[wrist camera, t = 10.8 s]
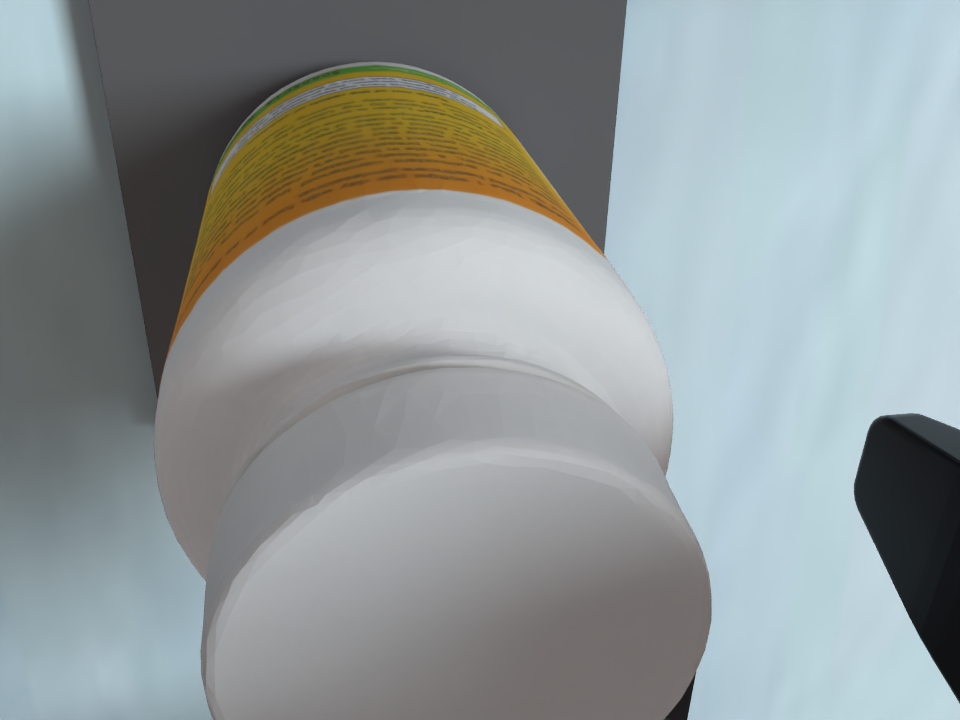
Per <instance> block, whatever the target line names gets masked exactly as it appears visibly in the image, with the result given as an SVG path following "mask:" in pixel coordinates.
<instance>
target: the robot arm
mask: <svg viewBox="0 0 960 720" xmlns="http://www.w3.org/2000/svg"><path fill="white" fill-rule="evenodd" d="M854 497H855V502H856V505H857V508H858V511H859V513H860V515H861V517H862V519H863V521H864V523H865V525H866V527H867V529H868V531H869V534H870V536H871V538H872V540H873V542H874V544H875V546H876V548H877V550H878V552H879V554H880V557H881V559H882V561H883V563H884V565H885V567H886V569H887V571H888V573H889V575H890V577H891V580H892V582H893V584H894V586H895V588H896V590H897V592H898V594H899V596H900V598H901V600H902V602H903V605H904V607H905V609H906V611H907V613H908V615H909V617H910V619H911V621H912V623H913V625H914V627H915V629H916V630H917V632H918V634H919V636H920V638H921V640H922V642H923V643H924V645H925V647H926V648H927V650H928V652H929V654H930V655H931V657H932V659H933V660H934V662H935V664H936V665H937V667H938V669H939V670H940V672H941V674H942V675H943V677H944V678H945V680H946V682H947V683H948V685H949V687H950V688H951V690H952V691H953V693H954V695H955V696H956V698H957V700H958V701H959V703H960V430H959V429H956V428H954V427H951V426H949V425H946V424H944V423H941V422H939V421H936V420H934V419H931V418H929V417H926V416H924V415H920V414H914V413H910V414H897V415H885V416H880V417H878V418H877V419H875V420H874V421H873V423H872V424H871V425H870V428H869V430H868V434H867V437H866V441H865V445H864V449H863V452H862V456H861V460H860V463H859V467H858V471H857V475H856V478H855V483H854ZM695 674H696V672H695ZM694 680H695V675H694V677H693V679H692V681H691V683H690V684H689V686H688V688H687V690H686V691H685V693H684V695H683V696H682V698H681V699H680V701H679V702H678V703H677V704H676V706H675V707H674V708H673V709H672V710H671V712H670V713H669V714H668V715H667V716H666V718H665V719H664V720H687V717H688V712H689V707H690V701H691V696H692V691H693V685H694Z"/></svg>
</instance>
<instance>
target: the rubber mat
mask: <svg viewBox="0 0 960 720" xmlns="http://www.w3.org/2000/svg"><path fill="white" fill-rule="evenodd" d="M88 1H89V7H90V12H91V18H92V24H93V30H94V35H95V41H96V47H97V53H98V58H99V64H100V70H101V76H102V81H103V87H104V93H105V99H106V105H107V110H108V116H109V122H110V128H111V133H112V139H113V145H114V151H115V156H116V162H117V168H118V174H119V179H120V185H121V191H122V197H123V202H124V208H125V214H126V220H127V225H128V231H129V237H130V243H131V248H132V254H133V260H134V266H135V271H136V277H137V283H138V289H139V294H140V300H141V306H142V312H143V317H144V323H145V329H146V335H147V340H148V346H149V352H150V358H151V363H152V369H153V375H154V381H155V386H156V392H157V398H158V397H159V389H160V382H161V377H162V373H163V369H164V365H165V361H166V358H167V354H168V350H169V346H170V343H171V339H172V336H173V332H174V329H175V325H176V321H177V317H178V314H179V310H180V306H181V302H182V298H183V294H184V290H185V286H186V282H187V278H188V274H189V270H190V267H191V263H192V259H193V255H194V251H195V247H196V244H197V240H198V235H199V231H200V226H201V222H202V219H203V214H204V210H205V206H206V201H207V197H208V193H209V189H210V186H211V183H212V180H213V177H214V174H215V171H216V169H217V166H218V164H219V161H220V159H221V157H222V155H223V153H224V151H225V149H226V147H227V146H228V144H229V142H230V141H231V139H232V138H233V136H234V135H235V133H236V132H237V130H238V129H239V127H240V126H241V125H242V123H243V122H244V121H245V120H246V119H247V117H248V116H249V115H250V114H251V113H252V112H253V111H254V110H255V109H256V108H257V107H258V106H259V105H261V104H262V103H263V102H264V101H265V100H266V99H268V98H269V97H270V96H271V95H273V94H274V93H276V92H277V91H278V90H280V89H281V88H283V87H285V86H287V85H289V84H291V83H292V82H294V81H296V80H298V79H300V78H302V77H305V76H307V75H309V74H312V73H315V72H318V71H321V70H323V69H327V68H331V67H335V66H339V65H344V64H351V63H358V62H388V63H398V64H404V65H409V66H413V67H417V68H420V69H424V70H427V71H430V72H432V73H435V74H438V75H440V76H442V77H445V78H447V79H449V80H451V81H453V82H455V83H456V84H458V85H460V86H462V87H463V88H465V89H466V90H468V91H470V92H471V93H472V94H474V95H475V96H476V97H478V98H479V99H480V100H482V101H483V102H484V103H485V104H486V105H487V106H488V107H490V108H491V109H492V110H493V111H494V112H495V113H496V114H497V115H498V116H499V117H500V118H501V120H502V121H503V122H504V123H505V124H506V125H507V127H508V128H509V129H510V130H511V131H512V133H513V134H514V135H515V137H516V138H517V139H518V140H519V142H520V143H521V144H522V146H523V147H524V149H525V150H526V151H527V153H528V154H529V155H530V157H531V158H532V159H533V161H534V162H535V163H536V165H537V166H538V167H539V169H540V170H541V171H542V173H543V174H544V175H545V177H546V178H547V180H548V181H549V182H550V184H551V185H552V186H553V188H554V189H555V190H556V192H557V193H558V195H559V196H560V197H561V199H562V200H563V201H564V203H565V204H566V205H567V207H568V208H569V209H570V211H571V212H572V213H573V215H574V216H575V217H576V219H577V220H578V221H579V223H580V224H581V225H582V227H583V228H584V230H585V231H586V232H587V234H588V235H589V236H590V237H591V239H592V240H593V241H594V243H595V244H596V245H597V246H598V248H599V249H600V250H601V251H602V253H603V254H604V247H605V236H606V225H607V214H608V203H609V192H610V181H611V170H612V159H613V148H614V137H615V126H616V115H617V104H618V93H619V82H620V71H621V60H622V49H623V38H624V27H625V16H626V5H627V0H88Z"/></svg>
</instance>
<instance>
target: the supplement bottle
mask: <svg viewBox="0 0 960 720" xmlns="http://www.w3.org/2000/svg"><path fill="white" fill-rule="evenodd" d="M672 431H673V404H672V395H671V388H670V381H669V377H668V373H667V369H666V364H665V361H664V358H663V355H662V351H661V348H660V345H659V342H658V340H657V338H656V336H655V334H654V331H653V329H652V327H651V325H650V323H649V321H648V319H647V318H646V316H645V314H644V312H643V310H642V309H641V307H640V305H639V304H638V302H637V301H636V299H635V298H634V296H633V295H632V293H631V292H630V290H629V289H628V288H627V286H626V285H625V283H624V282H623V280H622V279H621V277H620V276H619V274H618V273H617V272H616V270H615V269H614V268H613V266H612V265H611V263H610V262H609V261H608V259H607V258H606V257H605V255H604V254H603V253H602V251H601V250H600V249H599V248H598V246H597V245H596V244H595V243H594V241H593V240H592V239H591V237H590V236H589V235H588V234H587V232H586V231H585V230H584V228H583V227H582V225H581V224H580V223H579V221H578V220H577V219H576V217H575V216H574V215H573V213H572V212H571V211H570V209H569V208H568V207H567V205H566V204H565V203H564V201H563V200H562V199H561V197H560V196H559V195H558V193H557V192H556V190H555V189H554V188H553V186H552V185H551V184H550V182H549V181H548V180H547V178H546V177H545V175H544V174H543V173H542V171H541V170H540V169H539V167H538V166H537V165H536V163H535V162H534V161H533V159H532V158H531V157H530V155H529V154H528V153H527V151H526V150H525V149H524V147H523V146H522V144H521V143H520V142H519V140H518V139H517V138H516V137H515V135H514V134H513V133H512V131H511V130H510V129H509V128H508V127H507V125H506V124H505V123H504V122H503V121H502V120H501V118H500V117H499V116H498V115H497V114H496V113H495V112H494V111H493V110H492V109H491V108H490V107H488V106H487V105H486V104H485V103H484V102H483V101H482V100H480V99H479V98H478V97H476V96H475V95H474V94H472V93H471V92H470V91H468V90H466V89H465V88H463V87H462V86H460V85H458V84H456V83H455V82H453V81H451V80H449V79H447V78H445V77H442V76H440V75H438V74H435V73H432V72H430V71H427V70H424V69H420V68H417V67H413V66H409V65H404V64H398V63H388V62H358V63H351V64H344V65H339V66H335V67H331V68H327V69H323V70H321V71H318V72H315V73H312V74H309V75H307V76H305V77H302V78H300V79H298V80H296V81H294V82H292V83H291V84H289V85H287V86H285V87H283V88H281V89H280V90H278V91H277V92H276V93H274V94H273V95H271V96H270V97H269V98H268V99H266V100H265V101H264V102H263V103H262V104H261V105H259V106H258V107H257V108H256V109H255V110H254V111H253V112H252V113H251V114H250V115H249V116H248V117H247V119H246V120H245V121H244V122H243V123H242V125H241V126H240V127H239V129H238V130H237V132H236V133H235V135H234V136H233V138H232V139H231V141H230V142H229V144H228V146H227V147H226V149H225V151H224V153H223V155H222V157H221V159H220V161H219V164H218V166H217V169H216V171H215V174H214V177H213V180H212V183H211V186H210V189H209V193H208V197H207V201H206V206H205V210H204V214H203V219H202V222H201V226H200V231H199V235H198V240H197V244H196V247H195V251H194V255H193V259H192V263H191V267H190V270H189V274H188V278H187V282H186V286H185V290H184V294H183V298H182V302H181V306H180V310H179V314H178V317H177V321H176V325H175V329H174V332H173V336H172V339H171V343H170V346H169V350H168V354H167V358H166V361H165V365H164V369H163V373H162V377H161V382H160V389H159V397H158V404H157V410H156V417H155V431H154V457H155V467H156V473H157V480H158V487H159V491H160V495H161V498H162V502H163V506H164V509H165V512H166V516H167V519H168V521H169V523H170V525H171V527H172V530H173V532H174V534H175V536H176V538H177V540H178V542H179V544H180V545H181V547H182V548H183V550H184V551H185V553H186V555H187V556H188V558H189V559H190V561H191V563H192V564H193V565H194V567H195V568H196V569H197V571H198V572H199V573H200V575H201V576H202V577H203V578H204V579H205V581H206V591H205V604H204V620H203V632H202V642H201V675H202V680H203V684H204V689H205V694H206V698H207V702H208V706H209V709H210V712H211V715H212V717H213V719H214V720H664V719H665V718H666V716H667V715H668V714H669V713H670V712H671V710H672V709H673V708H674V707H675V706H676V704H677V703H678V702H679V701H680V699H681V698H682V696H683V695H684V693H685V691H686V690H687V688H688V686H689V684H690V683H691V681H692V679H693V677H694V675H695V672H696V670H697V668H698V666H699V663H700V661H701V658H702V656H703V654H704V651H705V647H706V643H707V639H708V635H709V629H710V624H711V587H710V580H709V573H708V570H707V566H706V563H705V559H704V556H703V552H702V550H701V547H700V545H699V543H698V541H697V539H696V536H695V534H694V532H693V530H692V529H691V527H690V525H689V523H688V521H687V520H686V518H685V516H684V514H683V512H682V511H681V509H680V507H679V505H678V502H677V500H676V498H675V496H674V494H673V492H672V491H671V489H670V487H669V485H668V482H667V480H666V477H665V475H666V472H667V469H668V463H669V457H670V451H671V443H672Z"/></svg>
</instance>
